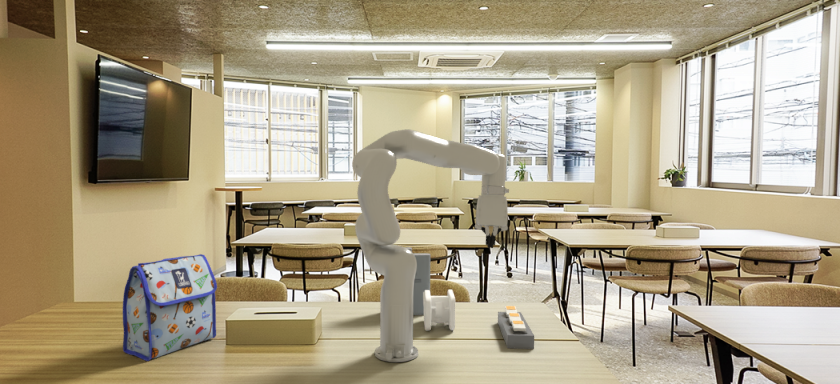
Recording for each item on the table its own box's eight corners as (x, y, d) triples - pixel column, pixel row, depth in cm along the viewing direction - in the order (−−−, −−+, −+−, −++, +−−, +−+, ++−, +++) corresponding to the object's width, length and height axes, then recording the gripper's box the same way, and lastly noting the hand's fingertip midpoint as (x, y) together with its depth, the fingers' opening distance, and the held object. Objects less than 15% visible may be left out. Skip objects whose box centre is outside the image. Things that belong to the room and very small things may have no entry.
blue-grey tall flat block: (383, 314, 181) (383, 248, 180) (384, 311, 185) (384, 246, 184) (429, 315, 180) (430, 248, 179) (429, 311, 185) (430, 246, 184)
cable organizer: (455, 333, 160) (456, 298, 159) (423, 333, 160) (423, 298, 159) (452, 320, 175) (452, 288, 174) (422, 320, 175) (422, 288, 174)
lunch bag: (151, 365, 132) (150, 267, 131) (117, 353, 140) (116, 261, 139) (222, 340, 152) (222, 255, 151) (189, 331, 160) (188, 250, 159)
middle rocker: (521, 323, 157) (521, 320, 156) (510, 323, 157) (510, 320, 156) (519, 316, 161) (519, 313, 161) (508, 315, 162) (508, 312, 161)
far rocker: (517, 316, 165) (517, 314, 164) (506, 316, 165) (506, 314, 165) (515, 308, 169) (515, 305, 169) (505, 308, 170) (505, 305, 169)
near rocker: (525, 331, 149) (525, 327, 148) (513, 330, 149) (514, 327, 149) (523, 323, 153) (523, 320, 153) (511, 323, 154) (511, 320, 153)
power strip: (534, 348, 147) (534, 333, 146) (507, 348, 147) (507, 333, 147) (516, 315, 181) (516, 303, 180) (494, 315, 181) (495, 303, 181)
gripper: (514, 192, 162) (511, 247, 162) (469, 190, 163) (466, 245, 163) (517, 192, 155) (514, 250, 155) (470, 190, 155) (467, 247, 156)
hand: (490, 247), depth 159 cm, fingers closed
